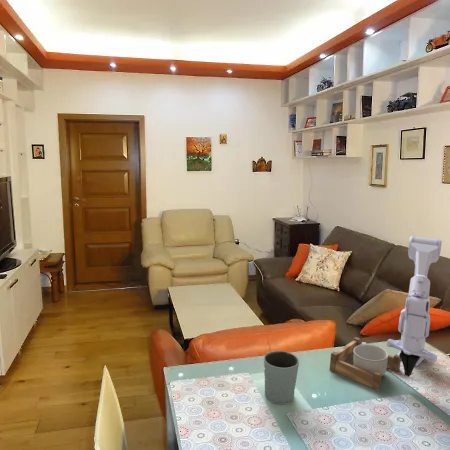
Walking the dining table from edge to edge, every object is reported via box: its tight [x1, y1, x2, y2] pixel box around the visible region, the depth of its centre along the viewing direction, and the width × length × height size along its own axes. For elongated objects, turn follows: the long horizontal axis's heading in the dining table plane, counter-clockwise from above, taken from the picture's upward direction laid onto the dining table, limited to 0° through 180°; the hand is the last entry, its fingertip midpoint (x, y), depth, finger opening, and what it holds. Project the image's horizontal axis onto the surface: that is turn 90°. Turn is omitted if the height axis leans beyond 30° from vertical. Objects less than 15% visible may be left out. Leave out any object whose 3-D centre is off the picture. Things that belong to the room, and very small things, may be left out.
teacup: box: [352, 341, 389, 376], centre depth 142 cm, size 14×11×8 cm
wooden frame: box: [329, 336, 402, 391], centre depth 143 cm, size 18×16×6 cm
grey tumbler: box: [263, 350, 300, 405], centre depth 126 cm, size 10×10×12 cm
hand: (407, 374), depth 134 cm, fingers closed
